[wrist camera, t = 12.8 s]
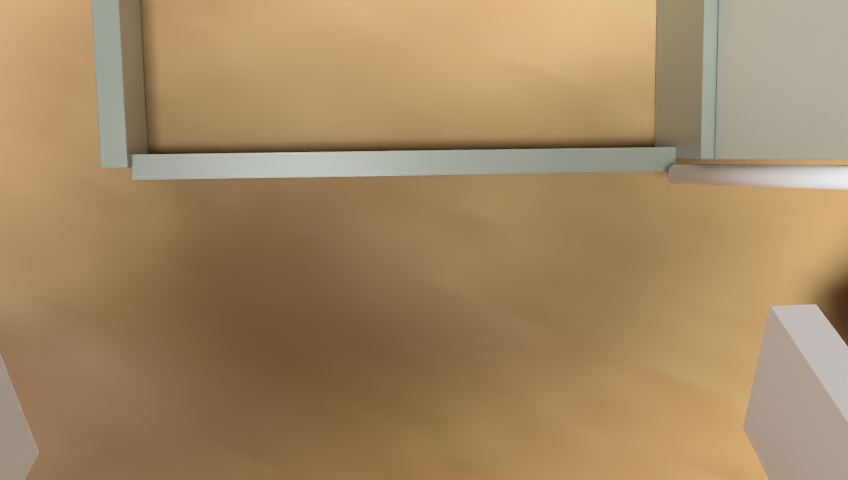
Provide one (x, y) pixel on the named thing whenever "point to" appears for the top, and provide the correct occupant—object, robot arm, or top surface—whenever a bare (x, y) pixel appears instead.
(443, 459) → the top surface
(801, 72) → the case
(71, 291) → the top surface
